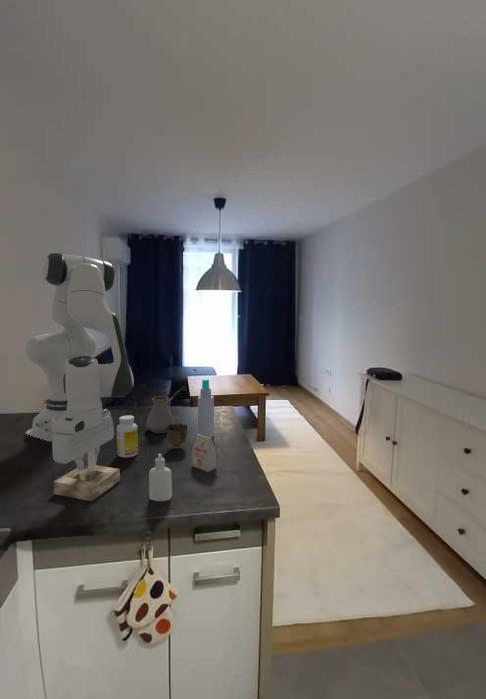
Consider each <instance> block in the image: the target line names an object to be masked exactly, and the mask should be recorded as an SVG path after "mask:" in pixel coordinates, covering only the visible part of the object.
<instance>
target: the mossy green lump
mask: <svg viewBox="0 0 486 699" xmlns="http://www.w3.org/2000/svg"><path fill="white" fill-rule="evenodd" d="M165 433H166V434H165V435H166V439H167V442H168V443H169V444H170V445H171V449H173V450H175V451H176V450H182V448H183V444H184V443H185V442H186V440H187V435H188V434H187V433H188V424H183V423H180V422H179V423H175V425H173V424H170V425H167V428H166V432H165Z"/></svg>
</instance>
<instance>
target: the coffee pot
mask: <svg viewBox="0 0 486 699" xmlns="http://www.w3.org/2000/svg"><path fill="white" fill-rule="evenodd" d="M187 389H188V388H187V387H186V386H185V385H183V386H182V387H180V388H179V390H177V391H175V392H174V394H173V395H172V396H171V397H168V396H156V397H155V396H154V397H153V398H151V400H152V403H153V405H152V407H151V410H150V412H149V414H148V418H147V420H146V422H145V426H146V428H147V430H149V431H150V432H152V433H153V434H165V433H166V428H167V425H170V424H173V425H175V424H176V420H175V418H174V416H173V413H172V412H171V409H170V407H169V406H168V404H169V403H170V402H171V401H172V400H173V399H174V398H176V397H177V395H179V394H180V392H183V391H187Z"/></svg>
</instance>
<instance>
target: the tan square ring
mask: <svg viewBox="0 0 486 699" xmlns="http://www.w3.org/2000/svg"><path fill="white" fill-rule="evenodd" d="M120 471H121V469H120V468H115V467H111V466H110V467H108V466H102V465H99V464H98V465H97V464H96V478H94V479H93V480H91V481H84V480H80V471H79V470H78V469H77V467H76V468H74V469H73V470H71V471H69V472H68V473H66V474H64V475H62V476H61V477H58V478H57V479H55V480H54V481H53V494H54V495H58V496H63V497H67V498H72V499H78V500H84V501H88V502H93V501H95V500H96V499H97V498H99V497H100V496H101V495H103V494H104V493H105V492H107V491H108V490H109V489H111V488H112V487H115V485H117V484H118V483H120V481H121V472H120Z"/></svg>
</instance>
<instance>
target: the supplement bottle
mask: <svg viewBox="0 0 486 699" xmlns="http://www.w3.org/2000/svg"><path fill="white" fill-rule="evenodd" d="M118 421H119V424H117V427H116V443H117V455H118V457H120V458H125V459H127V458H132V457H135V456H136V455H138V453H139V438H138V436H139V435H138V434H139V433H138V424H137V423H134V421H135V416H133V415H122V416H120V417H119V418H118Z"/></svg>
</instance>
